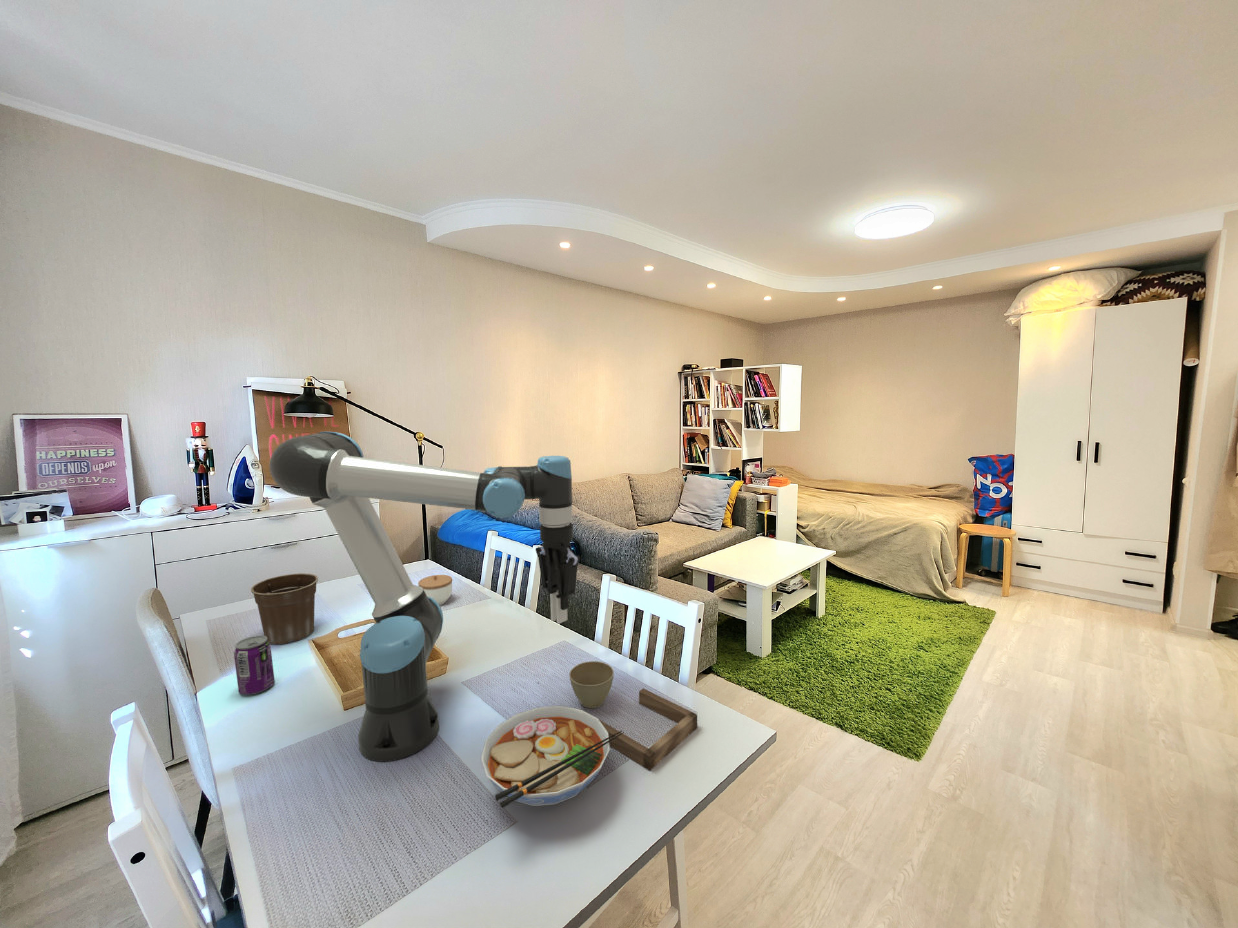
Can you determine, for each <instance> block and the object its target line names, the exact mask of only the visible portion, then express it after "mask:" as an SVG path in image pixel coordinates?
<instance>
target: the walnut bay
mask: <svg viewBox="0 0 1238 928" xmlns="http://www.w3.org/2000/svg"><path fill="white" fill-rule="evenodd" d="M638 704H639V705H641V706H643V707H644V708H645V707H646V708H647V709H649V710H651V711H653V712H655V713H657V714H659V715H661V716H662V717H664V718H667V719H669V720H670V721H672V722H674V723H676V724H675V725H673V727H671V728H670V729H669V730H668V731H667V732H666V733H665V734H664V735H662V736H661V737H660V738H658V739H657V740H656V741H654V743H653V744H652V745H651V746H649V747H647V746H646V745H643V744H642V743H640V742H638V741H636V740H635V739H633V738H631V737H630V736H628V735H626V734H625V733H623V734H622V735H620V736H618V737H617V738H615V739H613V740H612V741H610V742H609V745H610V748H612V749H614V750H615V751H617V752H618V753H620V754H622V755H623V756H625V757H627V758H628V759H630V760H631V761H632V762H634V763H636V764H638V765H640V766H641V767H643V768H644V769H645V770H647V771H652V769H654V768H655V767H656V766H657V765H658V764H659V763H661V761H663V760H664V759H665V758H666V757H667V756H668V755H669V754H670V753H671V752H672V751H674V750H675V749H676V748H677V747H678V746H680V744H681V743H682V742H684V741H685V740H686V738H688V737H689V736H690V735H691V734H692V733H694V732H695V731H696V730H697V729H698V714H697V713H695V712H693V711H691V710H689V709H687V708H685V707H682V706H680V705H679V704H677V703H674V702H672V701H671V700H668V699H666V698H664V697H662V696H661V695H658V694H656V693H654V692H652V691H650V690H648V689H646V688H644V687H643V688H642V689H640V690H638ZM599 721H600V722H601V723H602V725H603V726H604V727H605V729H606V730H607V732H608V735H609V737H610V736H612V735H614V734H616V733H618V732H620V731H621V730H618V729H616V728H615V727H612V726H611V725H609V724H608V723H607V722H604V721H603V720H601V719H599ZM621 733H622V732H620V733H618V734H617V735H619V734H621ZM617 735H615V736H613V737H611V738H609V740H610V739H612V738H614V737H616V736H617Z"/></svg>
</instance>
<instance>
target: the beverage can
mask: <svg viewBox="0 0 1238 928" xmlns="http://www.w3.org/2000/svg"><path fill="white" fill-rule="evenodd" d="M271 647H272V646H271V644H270V643H269V642H268V641H267V637H266V636H264V635H255V636H249V637H247V638H244V639H241V640H239V641H238V642H237V643H236V644H235V649H234V652H233V659H234V666H235V673H236V674H235V675H236V681H237V682H236V684H237V690H238V693H240V694H241V695H255V694H259V693H262V692H264V691H266V690H268V689H269V688H270V687H272V686H273V684H274V683H275V680H276V679H275V672H274V665H273V654H272V648H271Z"/></svg>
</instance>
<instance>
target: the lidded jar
mask: <svg viewBox="0 0 1238 928" xmlns="http://www.w3.org/2000/svg"><path fill="white" fill-rule="evenodd" d="M417 586H420V587H422V588H423V589H424V591H425V593H426V595H427V596H428V597H431V598H433V599H434V600H435V601H436V602H437V603H438V604H439V605H440V606H441V605H443V604H446V602H447V601H448V599H449V598H450V596H451V594H452V593H453V592H452V591H453V578H452V576H450V575H448V574H435V575H429V576H426V577H423V578H421V579H420V580H418V584H417Z"/></svg>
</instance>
